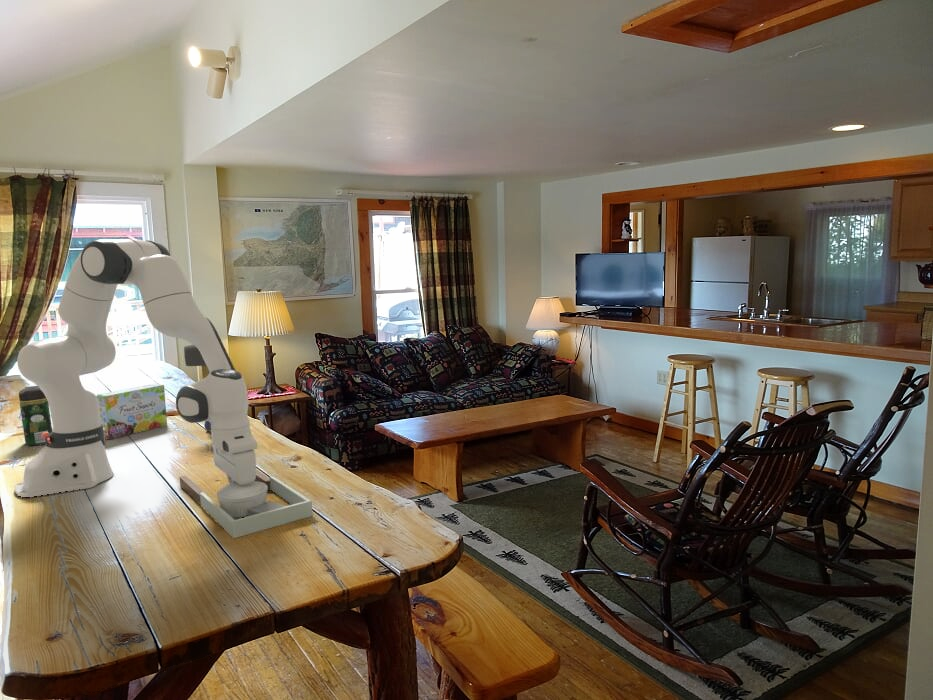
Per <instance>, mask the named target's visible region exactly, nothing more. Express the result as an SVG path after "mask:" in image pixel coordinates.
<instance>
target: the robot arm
mask: <svg viewBox="0 0 933 700" xmlns="http://www.w3.org/2000/svg"><path fill="white" fill-rule="evenodd" d="M119 285H134V286H136V288H137V289H138V290H139V293H140V295H141V296H140V297H141V299H142V303H143V305H144V310H145V312H146V316H147V318H148V320H149V323H150V324H151V325H152V327H153V329H155V330H156V331H158V332H159V333H161V334H163V335H165V336H167V337H171V338H176V339H179V340H183V341H184V342H188V343H190V344H191V345H194V346H196V347H197V348H198V350H199V351H200V353H201V355H202V357H203V359H204V361H205V363H206V365H207V367H208V370H209V372H210V373H209V375H208V376H207V377H205V378H204V379H203V378H202V379H200V380H198V381H194V382H192V383H189V384H187V385H184V386H182V387H181V388H180V389H179V391H178V392H177V395H176V397H175V398H176V399H175V406H176V410H177V413H178V414H179V416H180V418H182V419H183V420H184V421H186V422H188V423H189V424H190V423H191V424H192V423H194V424H195V423H202V422H205V421H209V422H210V423H211V431H210V433H211V447H212V448H213V462H214V466H215V467H216V468H218V469H219V470H220V471H222V472H223V473H224V474H225V475H226V479H227V481H228V485H229V484H233V483H239V484H240V485H244V484H249V483H253V482H254V481H255V478H256V470H257V462H256V460H257V459H256V451H255V450H256V449H257V448H258V443H257V439H255V436H254V435H253V433H252V430H251V425H250V422H251V421H250V419H249V417H248V409H249V395H248V394H249V393H248V388H247V384H246V381H245V378H244V376H243V374H242V373H241V372H240V371H238V370H236V368H235V367H234V365H233V362H232V360H231V358H230V356H229V354H228V352H227V350H226V348H225V347H226V346H225V345H224V343H223V341H222V339H221V336H220V335H219V333H218V331H217V329H216V328H215V326H214V324H213V322H212V321H211V320H210V319H209V318H208V317H206V316H205V315H204V314H203V312H202V310H201V309H200V308H199V306H198V305H197V303H196V301H195V299H194V297H193V293H192V290H191V288H190V285H189V282H188V280H187V277H186V276H185V274H184V272H183V270H182V267H181V266H180V264H179V263H178V260H176V259H175V258H174V257H172V256H171V254H170V252H169V250H168V249H167V248H166V246H164V245H163V244H160V243H159V242H156V241H153V240H141V239H136V238H117V239H116V238H115V239H113V238H112V239H107V238H101V239H96V240H92V241H91V242H88V243H87V244H85V245H84V248H83V249H82V250H81V252H80V253H79V254H78V256H77V258H76V260H75V261H74V263H73V265H72V267H71V269H70V271H69V273H68V276H67V279H66V281H65V285H64V288H63V291H62V295H61V298H60V301H59V305H58V308H57V312H58V315H59V317H60V319H61V320H62V321H63V322H64V323H66V324H67V325H68V326H67V331H66V333H65V334H64V335H61V336H57V337H56V336H55V337H49V338H43V339H39V340H37V341H34V342H31V343H28V344H26V345H24V346H23V347H22V348H21V349H20V351H19V353H18V356H17V358H16V359H17V368H18V370H19V372H20V373H21V375H22V376H23V377H24V378H25V379H26V380H28V381H30V382H31V383H34V384H35V386H38V387H39V388H40V389H41V390H42V391H43V393H44V395H45V396H46V398H47V400H48V403H49V410H50V418H51V425H52V432H51V433H49V432H43V434H42V436H41V437H42V439H43V440H45V448H43V449H42V450H41V451H40V452H39V453H38V454H37V455H36V456H34V457H33V458H31V460H29V461H28V462H27V463H26V466H25V468H24V471H23V480H21V481H20V482H18V483H17V484H16V485H15V486H14V494H15V493H16V494H17V495H19V496H21V497H20V498H22V497H30V498H35V497H34V496H37V497H40V496H41V495H43V496H48V495H47V494H49V495H54V493H55V494H60V493H59V492H61V493H66V492H65V491H68V492H71V491H72V492H73V490H74V491H78V490H79V489H80V490H85V489H90V488H91V489H92V488H93V487H94V488H95V486H97V485H98V484H100V483H103V482H104V481H107V480H108V479H110V478H112V477H113V476H114V471H113V469H112V466H111V464H110V461H109V459H108V456H107V451H106V448H105V445H106V439H105V433H104V428H103V425H102V424H101V419H100V410H99V401H98V398H97V394H95V393H93V392H91V391H89V390H86V389H85V387H84V386H83V385H82V382H81V380H80V376H83V375H87V374H93V373H97V372H98V371H101V370H103V369H105V368H107V367H109V366H110V365H112V364H113V362H114V361H115V359H116V354H117V353H116V352H117V351H116V347H115V346H116V345H115V343H114V342H113V340H112V339H111V338H110V337H109V336H108V334H107V321H108V318H109V314H110V311H111V307H112V303H113V302H114V301H113V300H114V297H115V294H116V291H117V287H118V286H119ZM16 494H15V495H16ZM17 495H16V496H17Z"/></svg>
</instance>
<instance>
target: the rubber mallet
mask: <svg viewBox="0 0 933 700" xmlns="http://www.w3.org/2000/svg"><path fill="white" fill-rule="evenodd" d="M183 354H184V356H183V357H184V362H185V363H184V364H185V366H186V367H201V372H202V373H201V375H202V379H204V378H205V377H207V376H208V375H209V373H210V372H209V370H208V367H207V365H206V363H205V361H204V359H203V357H202V355H201V353H200V351H199V350H198V348H197V347H196V346H194V345H193V344H191V345H185V346H184V347H183ZM204 429H205V430H206V432H211V423H210V422H209V421H204Z"/></svg>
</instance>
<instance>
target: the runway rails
mask: <svg viewBox="0 0 933 700" xmlns="http://www.w3.org/2000/svg"><path fill="white" fill-rule="evenodd" d="M255 481H258V482H263V483H265V484H266V485H267V487H268V490H269V491H271V490H270V478H269V477H268V476H266V475H264V474H263V473H261V472H260V471H259V470H257V469H256V478H255ZM179 485H180V486H179V487H181V488H182V489H183V490H184V489H185V490H186V491H187V492H188V493H189V494H190V495H191V496H192V497H193V498H194V499H195V502H196V503H198V502H199V503H200V504H201V501H200V493H202V492H204V493H205V494H206V495H207V496H208V497H209V495H208V494H207V493H206V492H205V491H204V490H203V489H202V488H200V487H199V486H198V485H197V484H196V483H195V482H194V481H193V480H192V479H190V478H189V477H188V476H187V475H183V476H182V475H181V476H179ZM185 490H184V491H185ZM186 491H185V492H186ZM187 492H186V493H187ZM188 493H187V494H188ZM189 494H188V495H189ZM190 495H189V496H190ZM191 496H190V497H191ZM192 497H191V498H192ZM193 498H192V499H193ZM199 503H198V504H199ZM200 504H199V505H200Z"/></svg>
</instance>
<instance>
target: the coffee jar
mask: <svg viewBox="0 0 933 700" xmlns="http://www.w3.org/2000/svg"><path fill="white" fill-rule="evenodd" d="M18 399H19V409H20V416H21V422H22V428H23V436H24V437H23V438H24V442H25V444H26V445H27V446H41V445H40V444H42V445H44V444H45V445H46V443H45V440H43V439H42V437H41V436H42V434H43V432H49V433H51V432H52V431H53V424H52V418H51V412H50V407H49V403H48V400H47V398H46V396H45V395H44V393H43V391H42V390H41V389H40V388H39V387H38V386H37V385H33V386H31V385H30V386H25V387H24V388H22V389H21V390H19V392H18Z"/></svg>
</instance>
